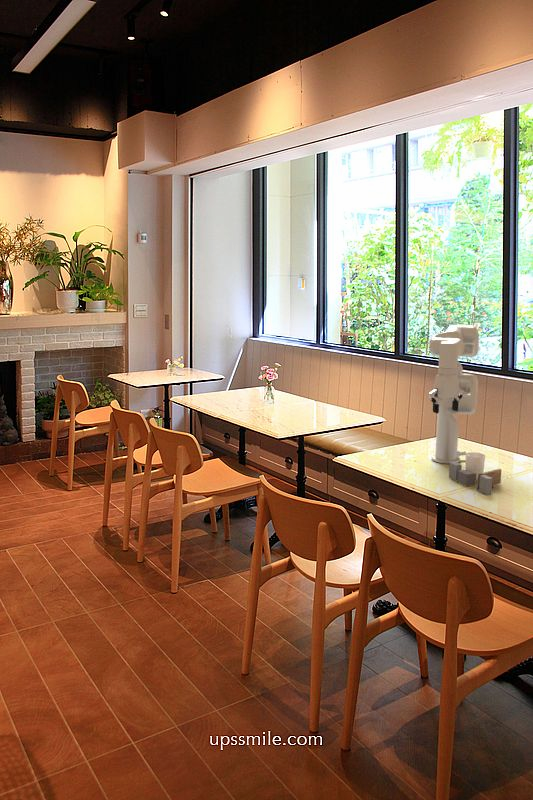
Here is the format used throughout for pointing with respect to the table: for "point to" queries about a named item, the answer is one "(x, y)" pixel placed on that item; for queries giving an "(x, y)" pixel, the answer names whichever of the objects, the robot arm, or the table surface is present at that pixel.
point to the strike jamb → (454, 470)
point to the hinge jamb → (485, 485)
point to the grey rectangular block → (466, 477)
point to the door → (493, 474)
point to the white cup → (475, 462)
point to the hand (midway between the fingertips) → (445, 411)
